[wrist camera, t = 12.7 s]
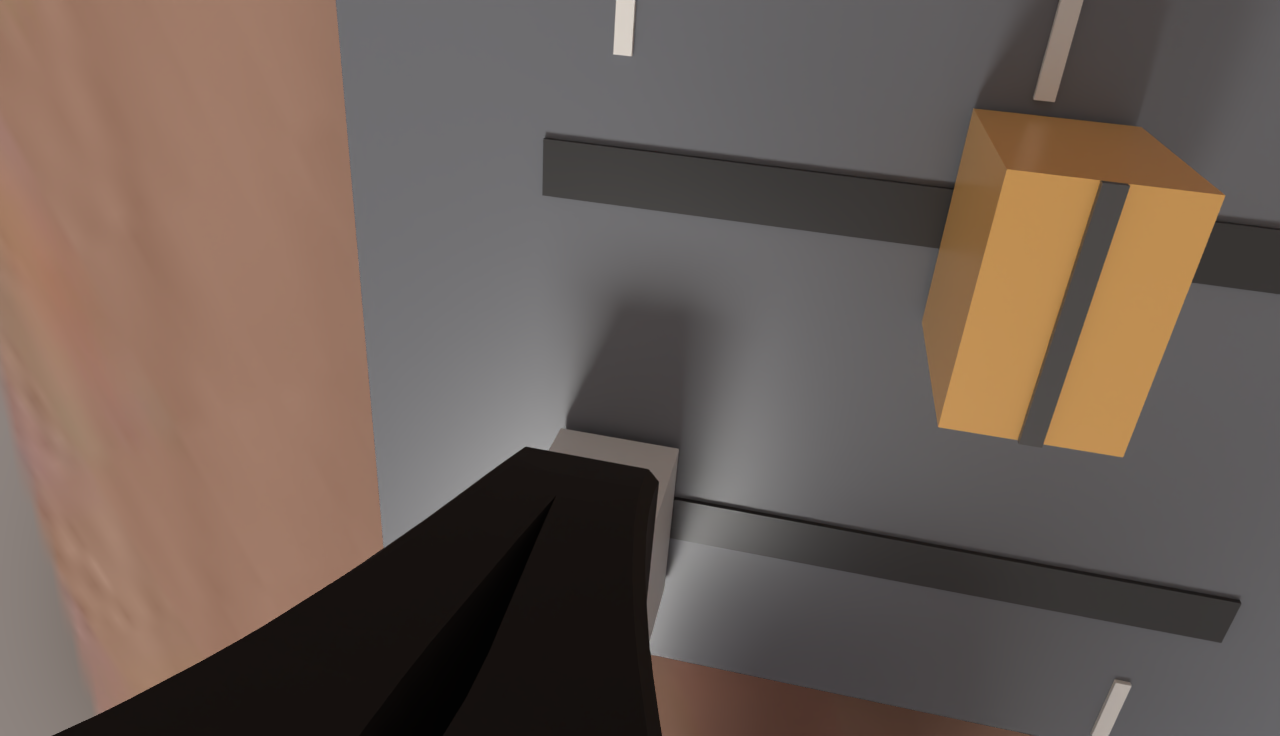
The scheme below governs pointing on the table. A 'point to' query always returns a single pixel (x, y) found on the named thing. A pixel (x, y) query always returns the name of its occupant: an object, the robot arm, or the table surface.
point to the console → (830, 332)
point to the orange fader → (1060, 278)
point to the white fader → (664, 469)
